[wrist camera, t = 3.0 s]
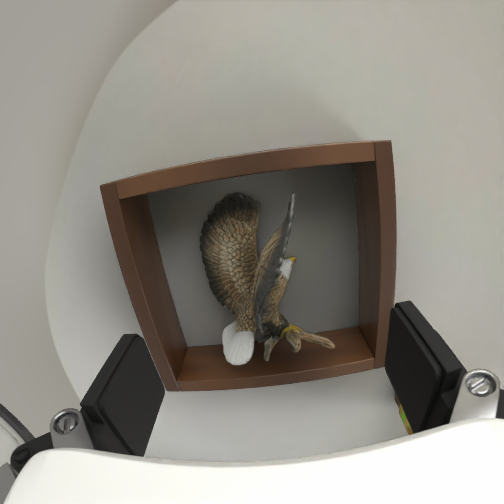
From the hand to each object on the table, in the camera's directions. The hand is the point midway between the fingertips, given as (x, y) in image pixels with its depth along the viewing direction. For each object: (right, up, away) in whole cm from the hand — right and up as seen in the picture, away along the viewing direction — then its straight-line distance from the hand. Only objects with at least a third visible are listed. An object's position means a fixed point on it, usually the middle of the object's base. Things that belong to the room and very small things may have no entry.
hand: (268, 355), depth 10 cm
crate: (0, +3, +9) cm, 10 cm away
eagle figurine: (0, +3, +9) cm, 10 cm away
